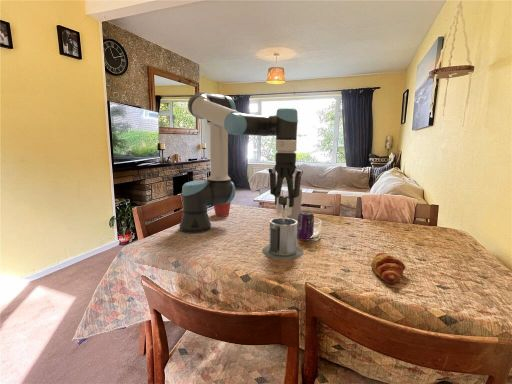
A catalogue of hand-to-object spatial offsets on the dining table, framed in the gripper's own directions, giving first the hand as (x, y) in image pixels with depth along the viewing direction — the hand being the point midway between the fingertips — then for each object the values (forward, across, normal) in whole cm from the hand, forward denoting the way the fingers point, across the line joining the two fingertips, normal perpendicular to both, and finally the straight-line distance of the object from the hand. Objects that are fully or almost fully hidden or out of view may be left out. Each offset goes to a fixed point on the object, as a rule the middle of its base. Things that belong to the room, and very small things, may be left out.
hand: (283, 214), depth 107 cm
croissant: (+16, +37, +6) cm, 41 cm away
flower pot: (+16, -57, +30) cm, 66 cm away
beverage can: (+16, 0, +21) cm, 26 cm away
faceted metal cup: (+15, 0, 0) cm, 15 cm away
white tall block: (+16, -17, +37) cm, 44 cm away
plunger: (+12, 0, 0) cm, 12 cm away
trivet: (+16, 0, 0) cm, 16 cm away
